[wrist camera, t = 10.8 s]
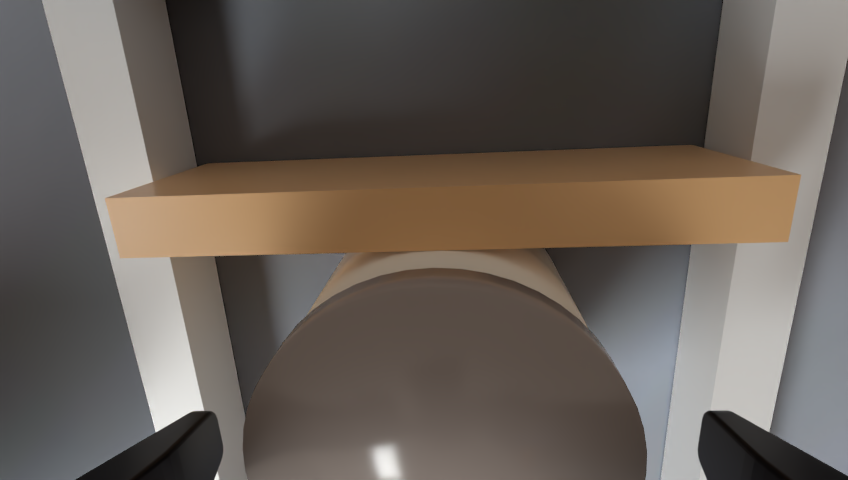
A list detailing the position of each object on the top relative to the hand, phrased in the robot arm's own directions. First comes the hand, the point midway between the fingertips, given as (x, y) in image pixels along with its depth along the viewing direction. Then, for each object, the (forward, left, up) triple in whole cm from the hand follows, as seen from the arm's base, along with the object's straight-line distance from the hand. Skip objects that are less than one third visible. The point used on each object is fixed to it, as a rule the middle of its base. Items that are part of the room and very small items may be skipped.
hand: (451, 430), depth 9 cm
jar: (0, 0, -5) cm, 5 cm away
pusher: (0, +4, -5) cm, 6 cm away
